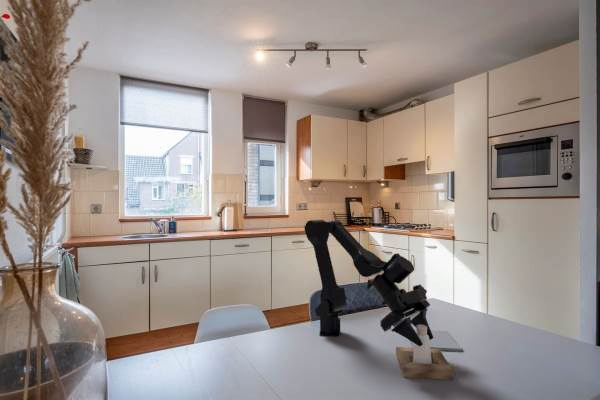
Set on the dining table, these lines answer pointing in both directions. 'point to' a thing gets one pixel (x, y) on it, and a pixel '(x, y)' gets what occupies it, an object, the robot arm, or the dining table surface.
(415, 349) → the pepper shaker
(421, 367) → the walnut collar
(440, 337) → the slate grey mat
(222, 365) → the dining table surface
